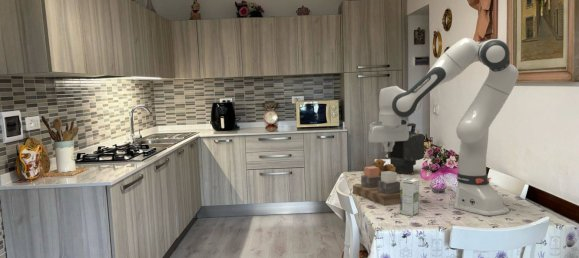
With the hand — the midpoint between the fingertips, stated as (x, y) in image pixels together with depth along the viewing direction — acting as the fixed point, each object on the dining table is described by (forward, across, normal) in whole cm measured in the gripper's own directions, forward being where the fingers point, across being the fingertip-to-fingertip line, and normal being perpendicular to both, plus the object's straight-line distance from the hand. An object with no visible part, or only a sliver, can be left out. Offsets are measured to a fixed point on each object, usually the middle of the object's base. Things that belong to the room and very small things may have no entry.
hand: (388, 151), depth 201 cm
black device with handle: (+23, +47, +48) cm, 71 cm away
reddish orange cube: (+15, 0, +14) cm, 20 cm away
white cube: (+15, 0, 0) cm, 15 cm away
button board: (+23, 0, +7) cm, 24 cm away
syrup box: (+23, -5, -21) cm, 32 cm away
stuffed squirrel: (+23, +21, +34) cm, 46 cm away
